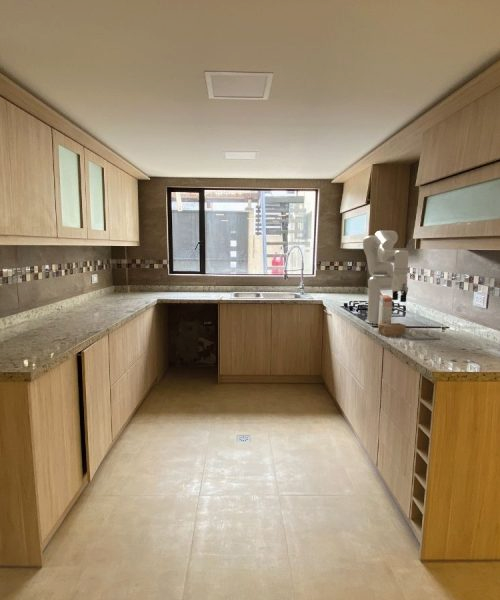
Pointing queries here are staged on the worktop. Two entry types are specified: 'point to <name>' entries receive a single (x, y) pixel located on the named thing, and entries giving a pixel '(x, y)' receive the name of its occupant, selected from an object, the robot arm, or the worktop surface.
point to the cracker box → (385, 309)
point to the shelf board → (391, 329)
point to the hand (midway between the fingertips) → (399, 300)
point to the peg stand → (420, 335)
